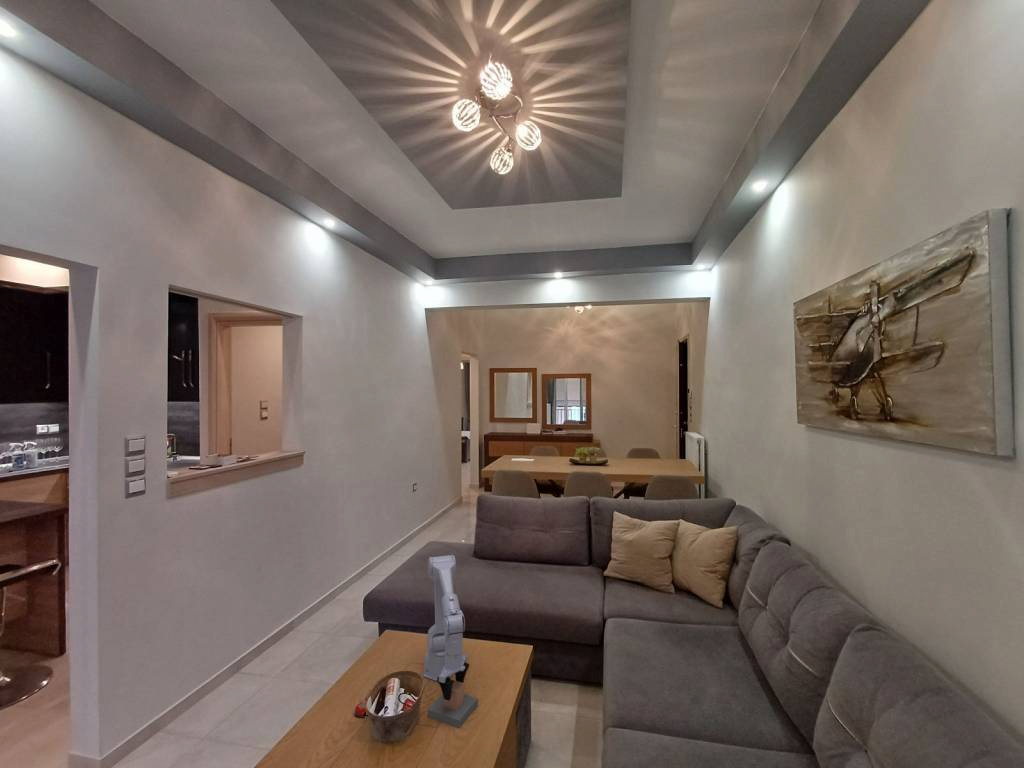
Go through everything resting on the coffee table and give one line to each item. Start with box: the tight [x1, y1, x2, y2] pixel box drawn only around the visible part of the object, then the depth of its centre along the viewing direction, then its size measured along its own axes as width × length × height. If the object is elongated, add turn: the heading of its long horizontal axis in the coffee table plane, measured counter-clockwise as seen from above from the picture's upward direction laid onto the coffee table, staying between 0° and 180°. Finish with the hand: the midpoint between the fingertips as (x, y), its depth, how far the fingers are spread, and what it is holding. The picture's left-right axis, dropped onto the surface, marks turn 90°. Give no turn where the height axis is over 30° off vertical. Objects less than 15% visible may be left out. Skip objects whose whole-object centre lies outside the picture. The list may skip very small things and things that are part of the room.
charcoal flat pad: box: [427, 693, 479, 729], centre depth 159 cm, size 12×12×3 cm
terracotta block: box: [444, 679, 465, 710], centre depth 159 cm, size 5×5×6 cm
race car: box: [354, 697, 368, 718], centre depth 161 cm, size 13×5×4 cm, turn 133°
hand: (453, 692), depth 159 cm, fingers open, 7 cm apart
